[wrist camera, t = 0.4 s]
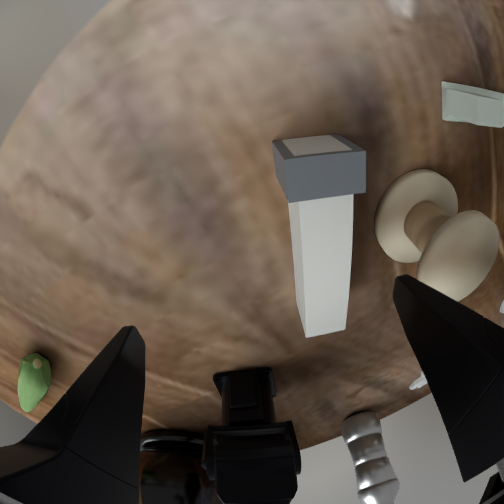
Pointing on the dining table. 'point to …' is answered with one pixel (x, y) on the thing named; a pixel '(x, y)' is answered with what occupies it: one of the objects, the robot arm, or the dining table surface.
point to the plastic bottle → (370, 459)
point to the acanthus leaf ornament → (419, 382)
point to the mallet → (321, 222)
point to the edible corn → (33, 380)
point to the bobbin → (436, 233)
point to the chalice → (502, 308)
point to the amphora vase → (174, 470)
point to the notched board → (472, 105)
